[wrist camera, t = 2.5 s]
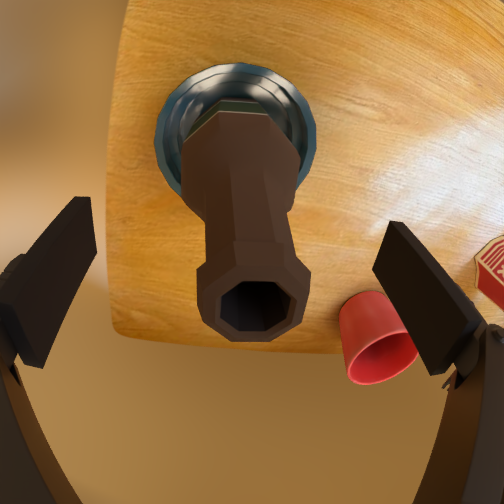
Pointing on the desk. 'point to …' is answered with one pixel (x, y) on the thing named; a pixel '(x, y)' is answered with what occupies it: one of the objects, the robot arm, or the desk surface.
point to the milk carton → (491, 271)
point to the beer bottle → (244, 221)
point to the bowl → (241, 86)
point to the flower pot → (374, 339)
